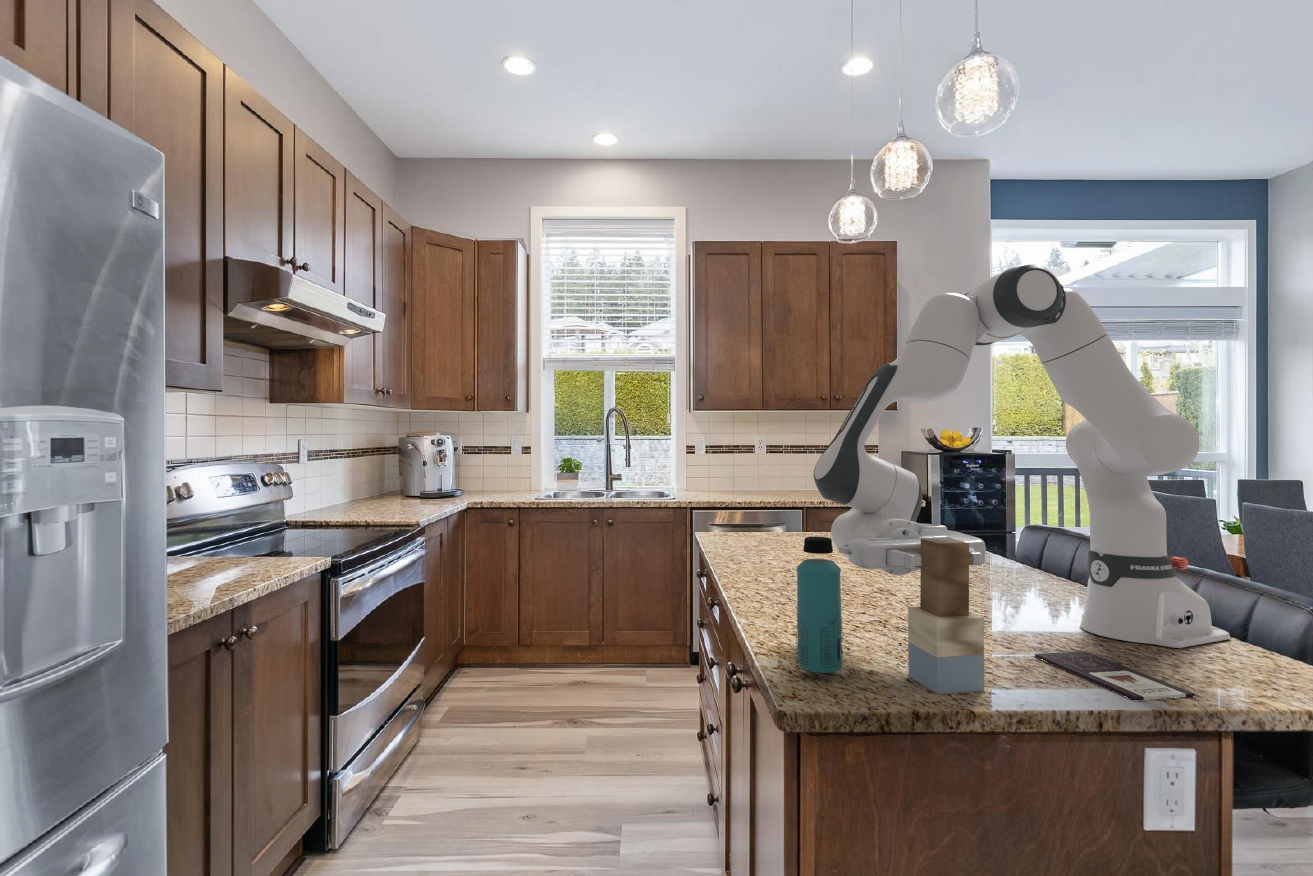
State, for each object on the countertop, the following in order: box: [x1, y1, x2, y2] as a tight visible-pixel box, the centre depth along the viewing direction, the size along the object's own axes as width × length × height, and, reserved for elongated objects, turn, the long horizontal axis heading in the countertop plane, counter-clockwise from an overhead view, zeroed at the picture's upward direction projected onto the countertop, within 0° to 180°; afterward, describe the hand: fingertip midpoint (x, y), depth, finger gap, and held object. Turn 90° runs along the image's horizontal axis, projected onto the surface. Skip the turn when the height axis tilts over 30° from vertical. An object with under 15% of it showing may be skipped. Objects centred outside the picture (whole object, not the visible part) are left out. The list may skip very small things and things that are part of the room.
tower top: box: [907, 606, 985, 657], centre depth 93 cm, size 7×7×5 cm
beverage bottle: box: [795, 536, 844, 674], centre depth 96 cm, size 6×7×20 cm
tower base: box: [907, 641, 985, 695], centre depth 93 cm, size 7×7×5 cm
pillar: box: [919, 538, 970, 617], centre depth 93 cm, size 4×4×10 cm
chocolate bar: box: [1034, 650, 1195, 701], centre depth 95 cm, size 9×1×18 cm
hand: (947, 560), depth 92 cm, fingers open, 8 cm apart
